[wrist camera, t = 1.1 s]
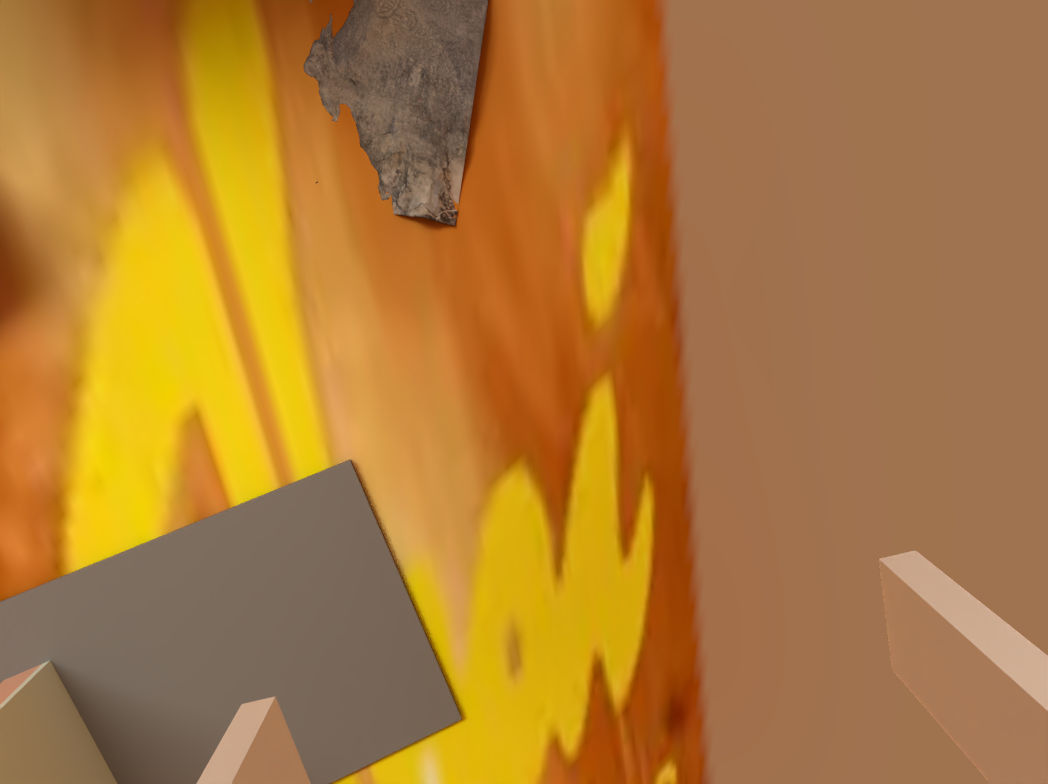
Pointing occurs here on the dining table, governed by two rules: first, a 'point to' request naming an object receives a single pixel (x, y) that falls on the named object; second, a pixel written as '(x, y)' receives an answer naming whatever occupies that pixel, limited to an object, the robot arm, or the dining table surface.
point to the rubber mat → (241, 637)
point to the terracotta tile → (45, 733)
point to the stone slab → (407, 93)
